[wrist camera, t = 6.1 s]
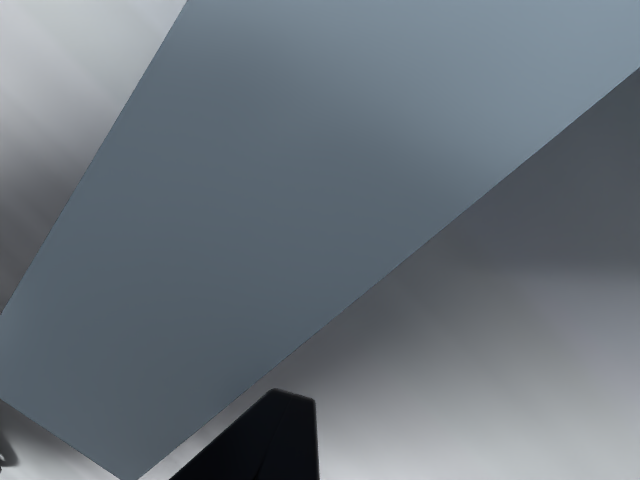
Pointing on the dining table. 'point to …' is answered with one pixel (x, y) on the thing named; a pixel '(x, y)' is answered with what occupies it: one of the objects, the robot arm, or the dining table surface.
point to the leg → (279, 194)
